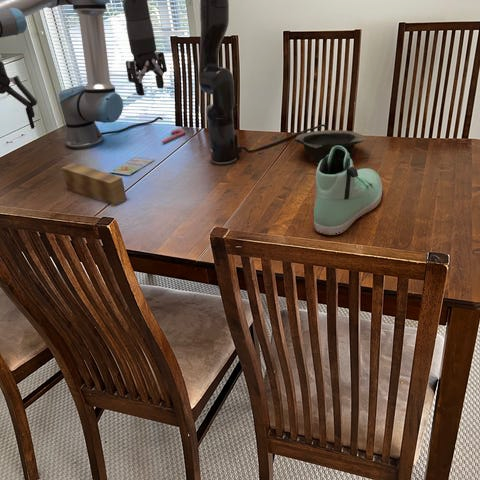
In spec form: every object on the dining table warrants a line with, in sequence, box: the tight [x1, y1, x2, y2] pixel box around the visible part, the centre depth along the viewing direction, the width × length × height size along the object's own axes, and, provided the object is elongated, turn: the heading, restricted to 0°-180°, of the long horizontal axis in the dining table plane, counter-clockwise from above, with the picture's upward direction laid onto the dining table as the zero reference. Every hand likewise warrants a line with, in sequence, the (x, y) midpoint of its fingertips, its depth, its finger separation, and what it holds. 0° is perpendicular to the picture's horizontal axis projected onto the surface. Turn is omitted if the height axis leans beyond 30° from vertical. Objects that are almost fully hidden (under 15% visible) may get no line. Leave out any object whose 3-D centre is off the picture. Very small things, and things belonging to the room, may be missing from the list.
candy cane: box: [161, 128, 186, 144], centre depth 202 cm, size 6×15×2 cm, turn 145°
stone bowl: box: [294, 129, 367, 165], centre depth 171 cm, size 25×25×9 cm
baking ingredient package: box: [110, 157, 154, 176], centre depth 178 cm, size 9×1×15 cm
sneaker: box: [313, 146, 383, 236], centre depth 133 cm, size 14×35×20 cm, turn 152°
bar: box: [61, 162, 127, 206], centre depth 158 cm, size 25×5×8 cm, turn 53°
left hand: (11, 130), depth 156 cm, fingers open, 13 cm apart
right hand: (151, 91), depth 149 cm, fingers open, 8 cm apart
